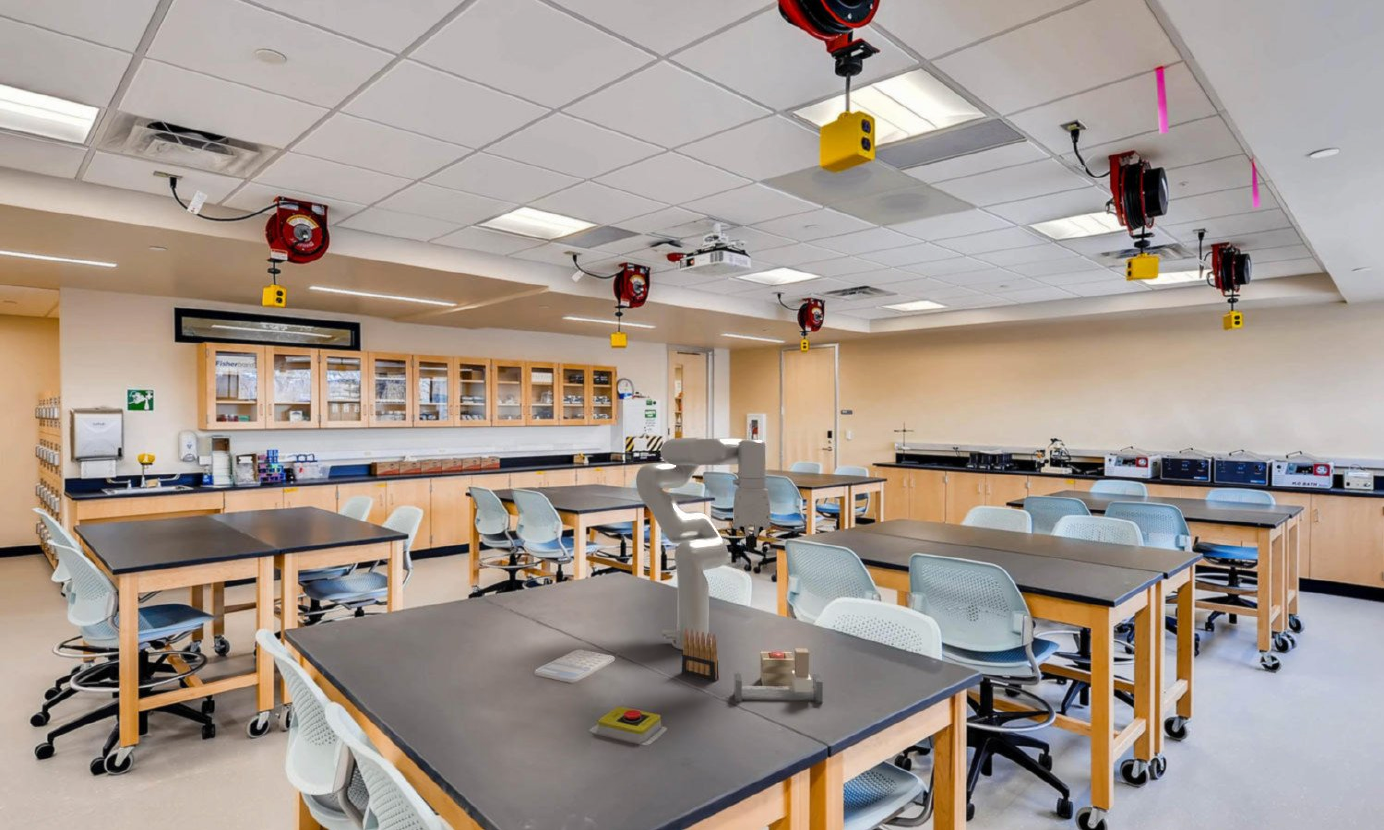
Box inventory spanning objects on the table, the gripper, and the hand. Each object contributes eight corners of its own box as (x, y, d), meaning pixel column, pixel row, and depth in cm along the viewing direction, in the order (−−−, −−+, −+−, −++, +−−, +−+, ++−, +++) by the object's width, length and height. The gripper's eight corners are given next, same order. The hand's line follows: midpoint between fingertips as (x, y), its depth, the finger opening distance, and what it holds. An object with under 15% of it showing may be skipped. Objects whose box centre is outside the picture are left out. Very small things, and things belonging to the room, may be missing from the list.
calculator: (616, 661, 194) (616, 655, 194) (573, 685, 176) (573, 677, 176) (577, 654, 200) (577, 647, 200) (532, 676, 182) (532, 669, 182)
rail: (735, 701, 165) (735, 680, 165) (734, 693, 170) (734, 673, 170) (822, 702, 165) (822, 681, 165) (818, 694, 170) (818, 674, 170)
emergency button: (648, 727, 142) (587, 713, 149) (647, 748, 142) (587, 733, 149) (668, 710, 151) (610, 698, 157) (668, 730, 151) (610, 717, 157)
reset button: (770, 670, 176) (771, 655, 176) (769, 665, 180) (769, 651, 180) (784, 670, 176) (785, 655, 176) (783, 665, 180) (783, 651, 180)
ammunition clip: (718, 679, 180) (719, 633, 180) (715, 681, 178) (715, 635, 178) (685, 671, 186) (685, 626, 186) (681, 673, 184) (681, 628, 184)
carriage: (795, 691, 165) (795, 654, 165) (791, 682, 171) (791, 646, 171) (811, 692, 165) (811, 654, 165) (807, 682, 171) (807, 646, 171)
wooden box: (762, 686, 175) (762, 659, 175) (760, 678, 181) (760, 651, 181) (794, 687, 175) (794, 659, 175) (790, 678, 181) (791, 651, 181)
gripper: (725, 484, 187) (724, 552, 187) (780, 485, 187) (779, 553, 186) (724, 482, 194) (723, 547, 194) (777, 483, 194) (776, 548, 194)
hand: (751, 550), depth 190 cm, fingers closed
